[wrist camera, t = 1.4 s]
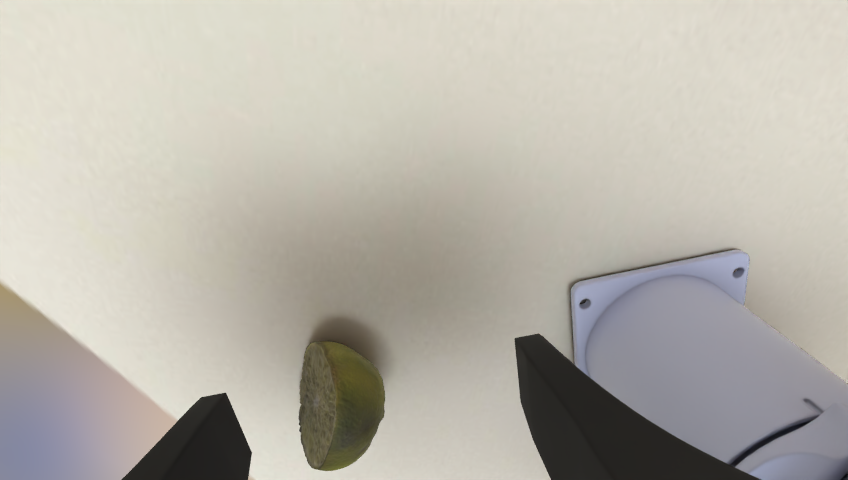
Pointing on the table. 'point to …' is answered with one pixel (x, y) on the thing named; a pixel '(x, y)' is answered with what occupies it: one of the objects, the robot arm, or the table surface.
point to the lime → (338, 405)
